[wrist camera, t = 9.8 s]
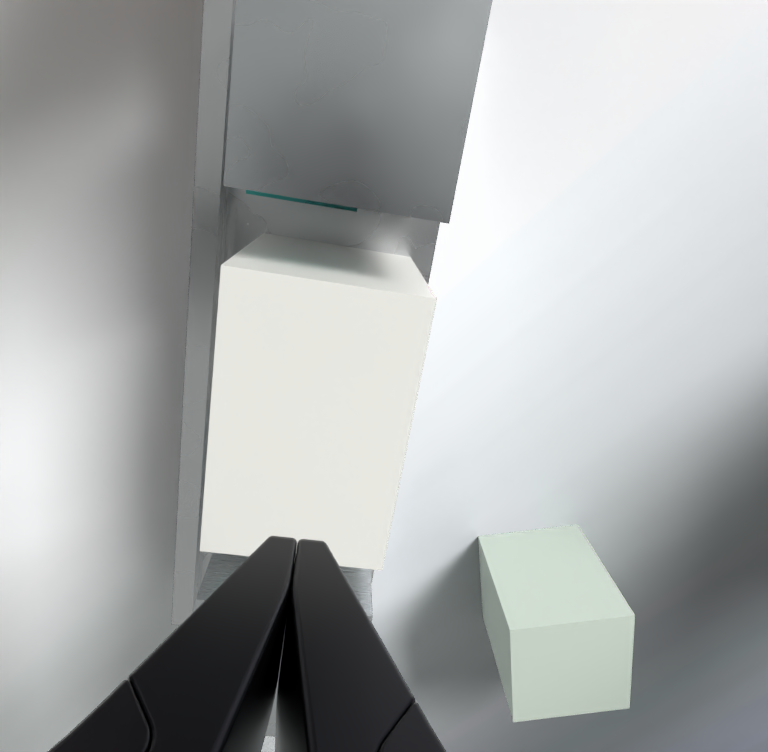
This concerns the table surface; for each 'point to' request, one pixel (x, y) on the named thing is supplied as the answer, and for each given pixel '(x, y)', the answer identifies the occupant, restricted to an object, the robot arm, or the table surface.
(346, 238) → the rail
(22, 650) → the table surface
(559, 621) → the block
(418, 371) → the block
